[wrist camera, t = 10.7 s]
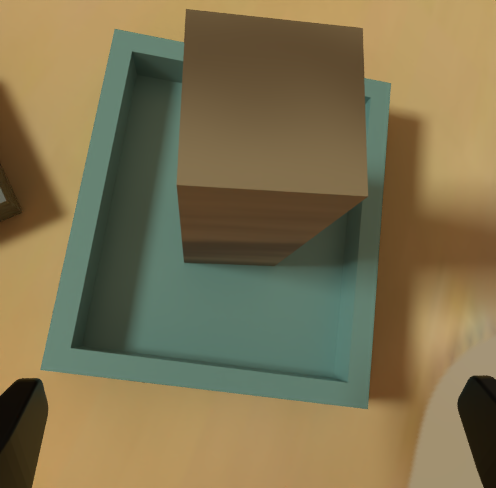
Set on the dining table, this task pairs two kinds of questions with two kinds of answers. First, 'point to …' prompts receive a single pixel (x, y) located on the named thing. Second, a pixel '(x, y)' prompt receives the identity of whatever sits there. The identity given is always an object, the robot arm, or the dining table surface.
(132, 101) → the tray
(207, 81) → the plate
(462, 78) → the dining table surface
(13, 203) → the grey square bin
